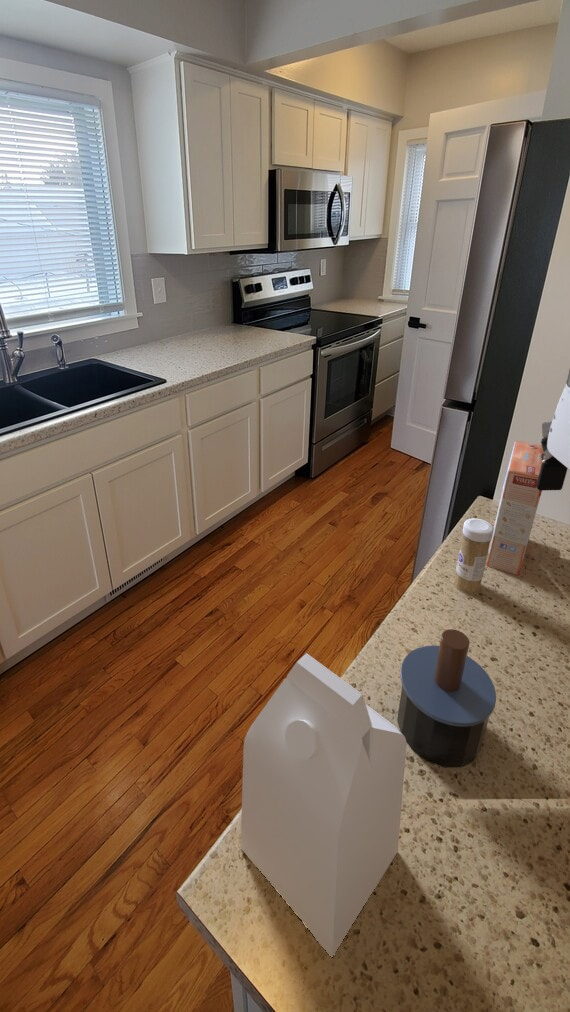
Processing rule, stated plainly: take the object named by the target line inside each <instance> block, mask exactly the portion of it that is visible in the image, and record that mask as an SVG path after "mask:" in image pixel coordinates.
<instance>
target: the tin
mask: <svg viewBox="0 0 570 1012" xmlns="http://www.w3.org/2000/svg"><path fill="white" fill-rule="evenodd" d="M489 719H490V717H489V718H488V719H486V720H485V721H484V722H482V723H480V724H477V725H474V726H468V727H459V726H452V725H448V724H444V723H442V722H439V721H437V720H435V719H433V718H431V717H429V716H428V715H426V714H425V713H423V712H422V711H421V710H420V709H418V708H417V707H416V706H415V705H414V704H413V702H412V701H411V700H410V699H409V697H408V696H407V694H406V692H405V691H404V688H403V686H402V685H401V691H400V699H399V706H398V712H397V718H396V720H397V724H398V728H399V731H400V732H401V733H402V734H403V735H404V736H405V739H406V745H408V746H409V748H410V749H411V751H413V752H414V753H415V754H416V755H418V756H419V757H421V758H422V759H423V760H424V761H426V762H428V763H430V764H433V765H436V766H438V767H441V768H445V769H446V768H448V769H449V768H451V769H452V768H456V769H458V768H459V769H460V768H463V767H465V766H467V765H470V763H473V762H474V761H475V760H476V758H477V757H478V755H479V753H480V752H481V750H482V746H483V742H484V738H485V735H486V731H487V727H488V724H489Z"/></svg>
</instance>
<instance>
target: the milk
mask: <svg viewBox="0 0 570 1012" xmlns="http://www.w3.org/2000/svg"><path fill="white" fill-rule="evenodd" d="M406 753H407V742H406V739H405V736H404V735H403V734H402V733H401V732H400V729H398V727H396V726H395V724H394V723H392V722H391V721H389V720H388V719H387V718H385V717H384V716H382V715H381V714H380V713H378V712H377V711H376V710H375V709H373V708H372V707H370V706H369V705H368V704H366V701H365V699H364V695H363V693H362V692H360V691H359V690H357V688H355V687H354V686H352V685H351V684H349V683H348V682H347V681H346V680H344V679H342V678H341V677H340V676H339V675H337V674H336V673H334V672H333V671H332V670H330V669H329V668H327V667H326V666H325V665H323V664H322V663H321V662H319V660H316V659H315V658H314V657H313V656H311V655H310V654H308V653H307V652H305V654H304V655H303V656H301V657H300V658H299V659H298V660H297V661H296V662H295V663H294V665H293V667H292V668H291V669H290V671H289V672H288V674H287V675H286V678H284V679H283V681H282V682H281V683H280V685H278V687H277V689H276V690H275V692H274V693H273V694H272V696H271V697H270V699H268V701H267V703H266V704H265V705H264V707H263V708H262V709H261V711H260V713H258V715H257V716H256V718H255V719H254V721H253V722H252V723H251V725H250V727H249V728H248V731H247V732H246V734H245V737H244V741H243V755H242V757H243V758H242V787H241V815H240V818H241V819H240V846H239V847H240V849H241V851H242V852H243V853H244V854H245V855H246V857H247V858H248V859H249V860H250V862H251V863H252V864H253V865H254V867H255V868H256V867H257V868H258V869H259V870H258V869H257V868H256V869H257V870H258V872H260V871H261V872H260V874H261V873H262V874H263V875H264V876H265V877H266V878H267V879H268V880H269V881H270V882H271V884H272V885H273V886H274V887H275V888H276V889H277V890H278V892H279V893H280V894H281V896H283V898H284V899H285V901H287V903H288V904H289V905H290V906H291V908H292V909H293V910H294V911H295V912H296V913H297V914H298V916H299V917H300V918H301V920H302V921H303V922H304V923H305V925H306V926H307V927H308V929H309V930H310V931H311V933H312V934H313V936H314V937H315V938H316V939H315V938H314V937H313V936H312V937H313V938H314V939H315V941H316V942H317V941H318V942H319V943H318V942H317V943H318V944H319V945H320V944H321V945H320V947H321V946H322V947H323V948H324V949H325V950H326V951H325V950H324V949H323V948H322V947H321V948H322V949H323V950H324V951H325V953H326V952H328V954H330V956H331V957H333V955H334V954H335V952H336V951H337V952H338V950H339V949H338V947H339V946H340V944H341V943H342V944H343V942H344V941H343V939H344V938H345V939H346V937H347V936H348V934H349V932H350V931H349V929H350V928H351V926H352V924H353V923H354V921H355V920H356V921H357V919H358V918H357V916H358V914H359V913H360V911H361V909H362V908H363V906H364V905H365V903H366V902H367V903H368V901H369V900H368V898H369V897H370V898H371V896H372V895H373V893H374V892H375V890H376V888H377V887H378V885H379V883H380V882H381V880H382V879H383V877H384V875H385V874H386V872H387V871H388V869H389V867H390V865H391V864H392V862H393V860H394V859H395V857H396V856H397V854H398V852H399V842H400V841H399V840H400V831H401V830H400V828H401V818H402V817H401V816H402V815H401V814H402V804H403V793H404V792H403V791H404V779H405V766H406V755H407V754H406ZM262 874H261V875H262ZM263 875H262V876H263ZM264 876H263V877H264ZM265 877H264V878H265ZM266 878H265V879H266ZM376 886H377V887H376ZM374 889H375V890H374ZM372 892H373V893H372ZM371 894H372V895H371ZM370 895H371V896H370ZM370 898H369V899H370ZM367 900H368V901H367ZM367 903H366V904H367ZM365 906H366V905H365ZM365 906H364V907H365ZM363 909H364V908H363ZM361 912H362V911H361ZM360 914H361V913H360ZM360 914H359V915H360ZM358 917H359V916H358ZM356 918H357V919H356ZM356 921H355V922H356ZM354 924H355V923H354ZM354 924H353V925H354ZM352 927H353V926H352ZM351 929H352V928H351ZM351 929H350V930H351ZM348 931H349V932H348ZM311 933H310V934H311ZM347 933H348V934H347ZM312 934H311V935H312ZM346 935H347V936H346ZM345 936H346V937H345ZM345 939H344V940H345ZM342 941H343V942H342ZM342 944H341V945H342ZM340 947H341V946H340ZM340 947H339V948H340ZM337 949H338V950H337ZM337 952H336V953H337ZM328 954H327V955H328ZM335 955H336V954H335ZM335 955H334V956H335ZM330 956H329V957H330ZM331 957H330V958H331ZM333 958H334V957H333Z"/></svg>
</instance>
